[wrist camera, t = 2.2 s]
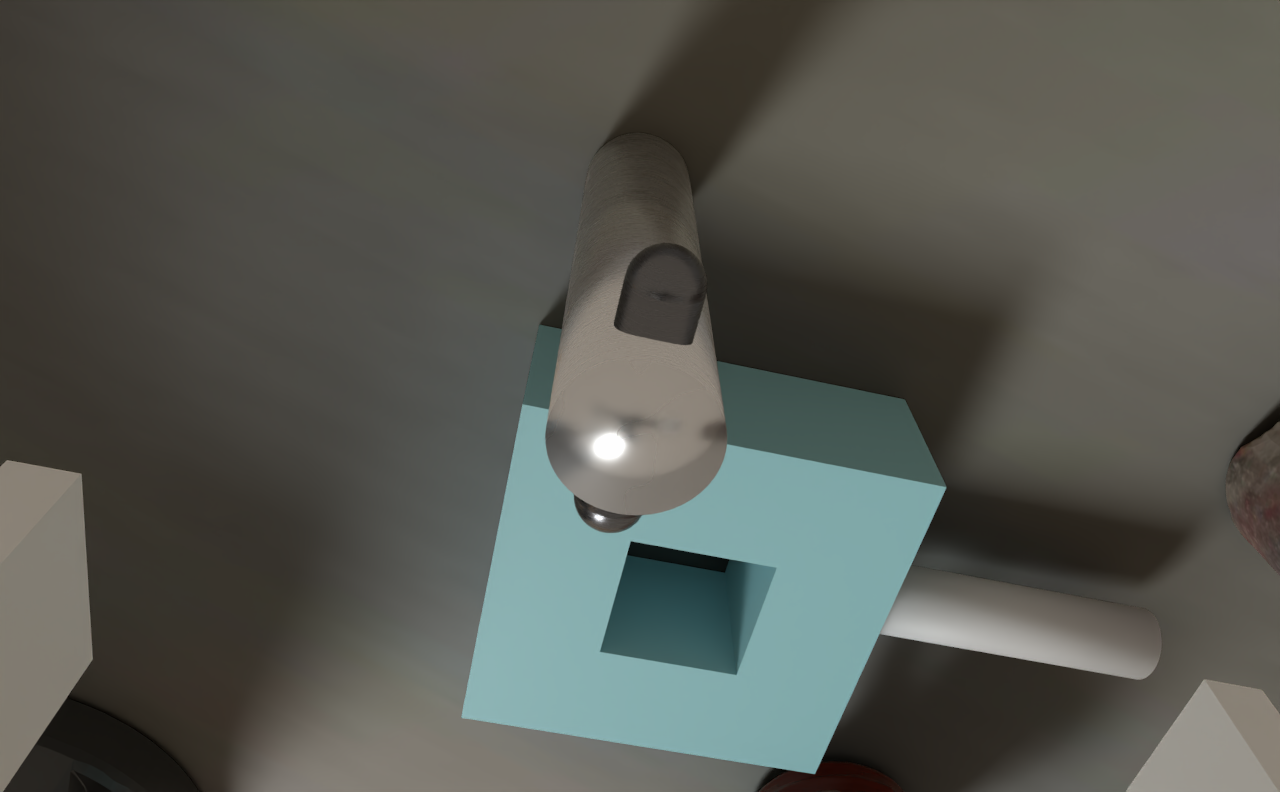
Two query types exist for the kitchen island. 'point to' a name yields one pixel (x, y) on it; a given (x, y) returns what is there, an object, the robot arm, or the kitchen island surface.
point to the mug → (833, 780)
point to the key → (636, 345)
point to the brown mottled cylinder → (1257, 494)
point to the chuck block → (750, 585)
